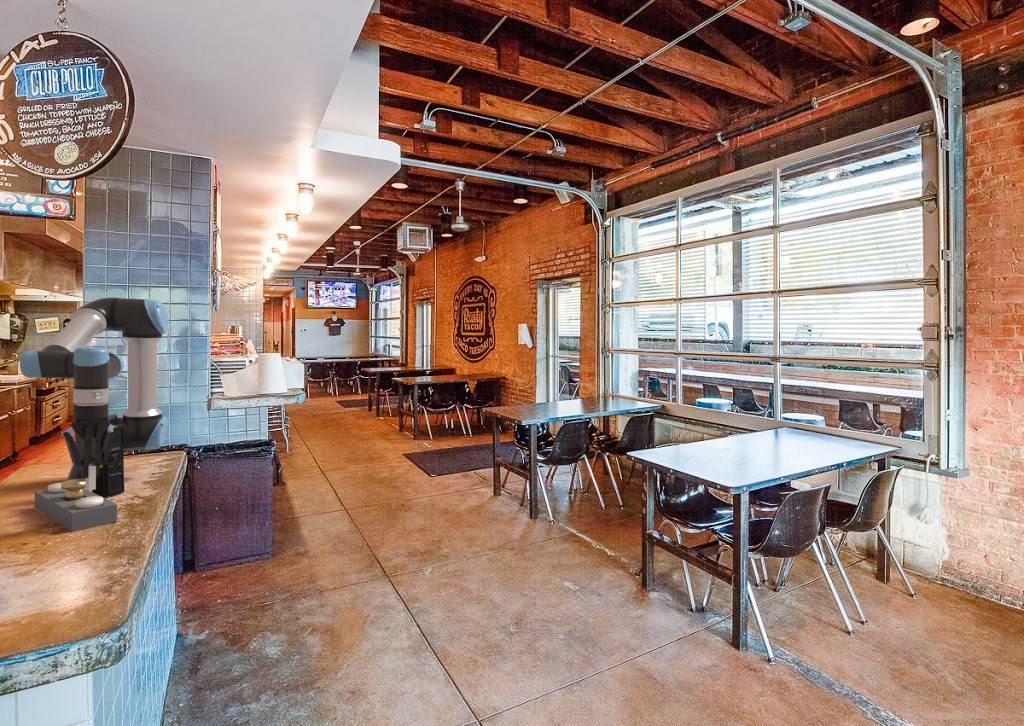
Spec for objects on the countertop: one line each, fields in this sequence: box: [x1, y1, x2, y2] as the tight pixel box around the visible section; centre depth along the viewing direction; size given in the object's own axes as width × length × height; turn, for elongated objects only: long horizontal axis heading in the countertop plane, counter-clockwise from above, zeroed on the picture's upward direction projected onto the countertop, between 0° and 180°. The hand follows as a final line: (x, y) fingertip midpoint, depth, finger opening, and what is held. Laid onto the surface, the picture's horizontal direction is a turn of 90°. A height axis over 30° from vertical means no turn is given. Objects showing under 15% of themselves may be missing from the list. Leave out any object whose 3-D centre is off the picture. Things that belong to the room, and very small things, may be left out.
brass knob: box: [60, 479, 85, 501], centre depth 150 cm, size 6×6×6 cm
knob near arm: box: [47, 482, 66, 501], centre depth 157 cm, size 6×6×6 cm
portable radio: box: [91, 417, 125, 498], centre depth 169 cm, size 8×6×25 cm
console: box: [34, 487, 118, 532], centre depth 151 cm, size 10×30×5 cm, turn 56°
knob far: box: [75, 496, 103, 510], centre depth 145 cm, size 6×6×6 cm
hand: (90, 488), depth 145 cm, fingers closed
